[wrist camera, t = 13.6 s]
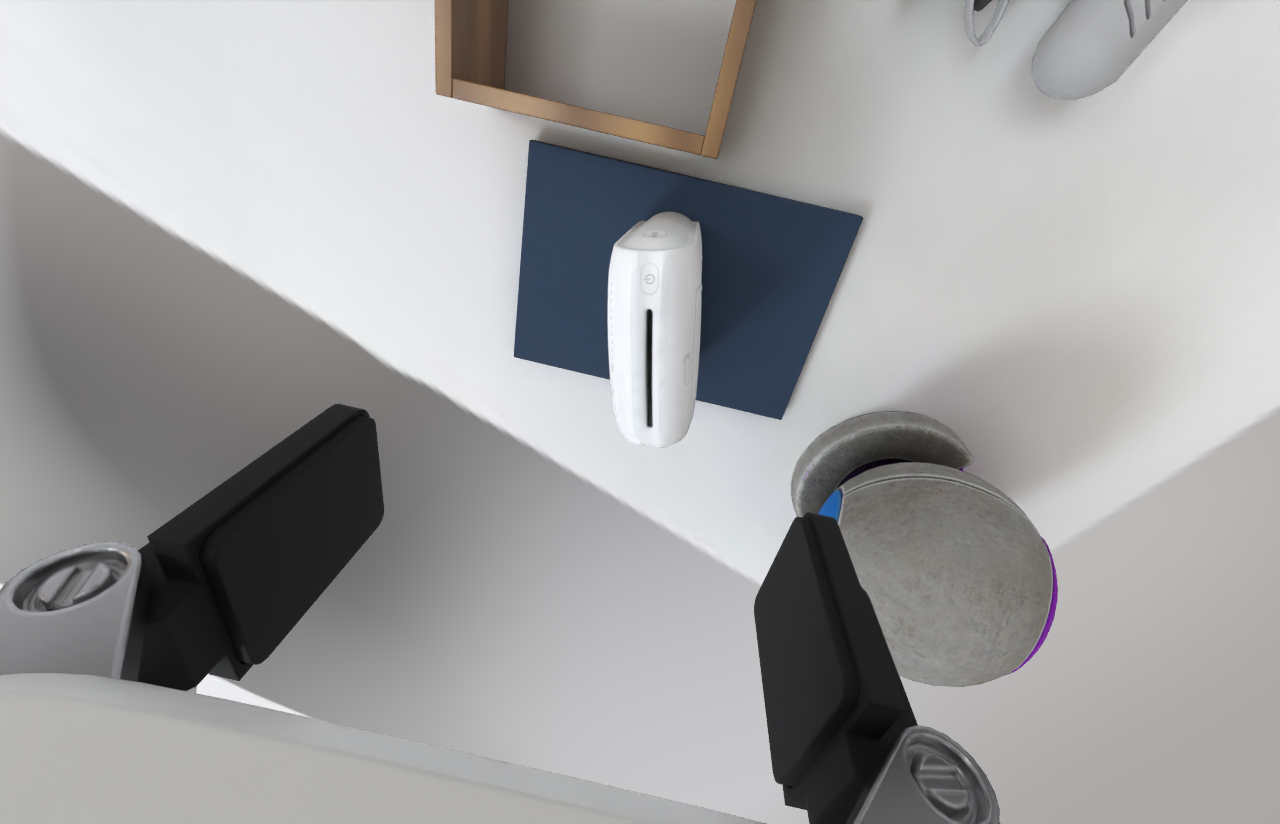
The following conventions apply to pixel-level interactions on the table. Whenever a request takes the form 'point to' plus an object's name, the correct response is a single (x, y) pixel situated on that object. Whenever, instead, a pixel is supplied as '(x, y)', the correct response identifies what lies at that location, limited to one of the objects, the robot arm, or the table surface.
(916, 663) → the webcam
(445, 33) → the wooden box
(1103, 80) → the clip-on lamp
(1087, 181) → the table surface
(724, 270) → the mat
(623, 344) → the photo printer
